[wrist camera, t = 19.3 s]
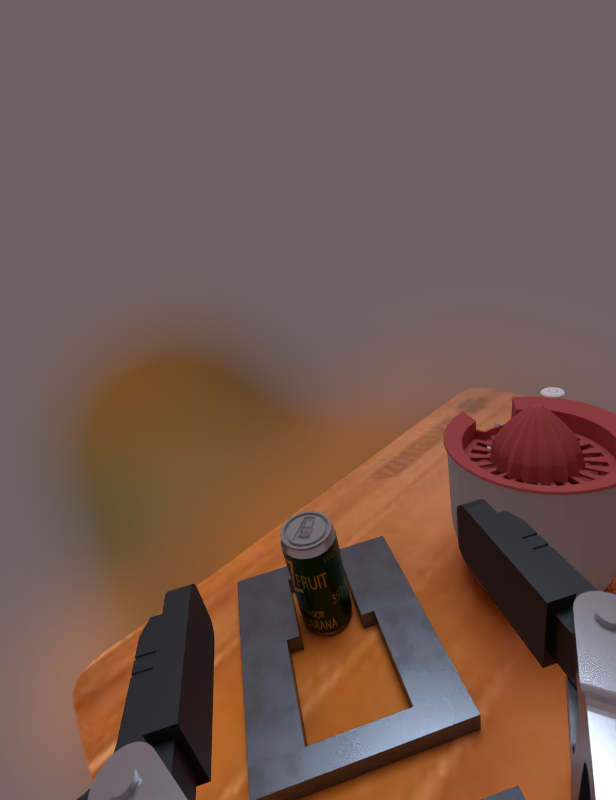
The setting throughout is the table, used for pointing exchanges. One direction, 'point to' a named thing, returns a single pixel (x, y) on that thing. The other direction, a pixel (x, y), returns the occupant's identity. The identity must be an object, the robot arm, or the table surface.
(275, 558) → the table surface
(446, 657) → the keyhole plate
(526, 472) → the citrus juicer
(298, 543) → the green drink can
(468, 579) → the table surface
